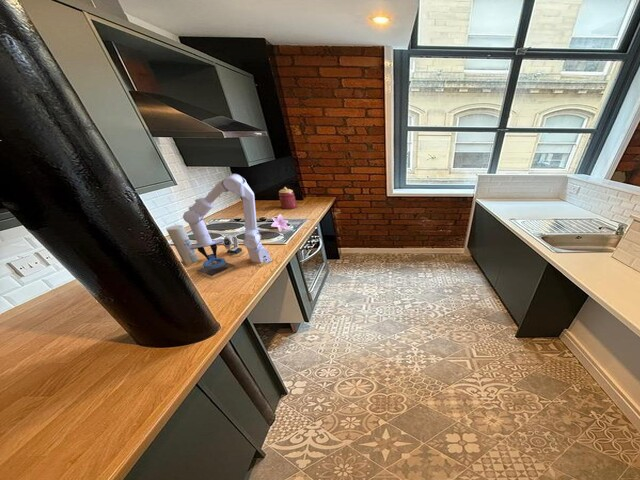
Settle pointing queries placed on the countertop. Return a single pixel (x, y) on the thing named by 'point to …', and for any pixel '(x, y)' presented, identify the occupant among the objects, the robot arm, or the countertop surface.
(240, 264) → the countertop surface
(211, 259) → the ring
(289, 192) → the kitchen canister
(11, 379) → the countertop surface
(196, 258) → the spray can
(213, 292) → the countertop surface
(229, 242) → the watch
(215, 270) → the platform
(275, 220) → the lily
